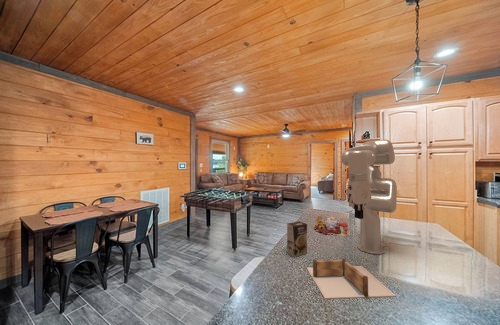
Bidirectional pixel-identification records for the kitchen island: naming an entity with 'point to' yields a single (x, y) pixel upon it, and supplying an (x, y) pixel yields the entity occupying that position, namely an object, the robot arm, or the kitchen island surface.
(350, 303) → the kitchen island surface
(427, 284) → the kitchen island surface
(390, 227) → the kitchen island surface
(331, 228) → the plate of food
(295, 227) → the coffee box
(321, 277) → the card
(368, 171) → the robot arm
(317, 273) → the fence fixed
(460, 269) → the kitchen island surface
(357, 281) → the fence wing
